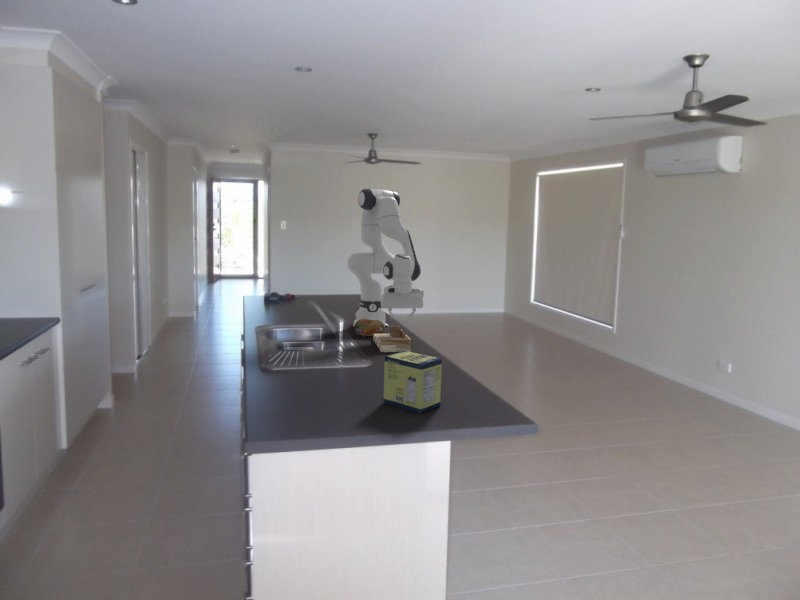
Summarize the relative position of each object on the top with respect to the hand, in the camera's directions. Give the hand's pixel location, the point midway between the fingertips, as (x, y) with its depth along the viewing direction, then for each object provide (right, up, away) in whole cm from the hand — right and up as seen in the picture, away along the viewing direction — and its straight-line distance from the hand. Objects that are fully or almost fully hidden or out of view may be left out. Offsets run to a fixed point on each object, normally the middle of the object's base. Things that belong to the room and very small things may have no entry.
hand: (401, 317), depth 280 cm
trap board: (-5, -12, -13) cm, 18 cm away
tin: (-16, -10, +6) cm, 19 cm away
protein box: (+3, -25, -94) cm, 97 cm away
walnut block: (-3, -8, -6) cm, 11 cm away
